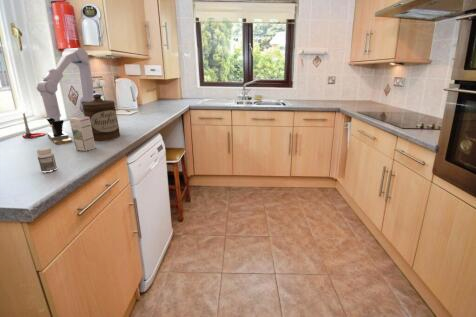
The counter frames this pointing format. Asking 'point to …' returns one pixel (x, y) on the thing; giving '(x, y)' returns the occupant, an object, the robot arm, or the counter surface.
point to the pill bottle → (46, 159)
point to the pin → (54, 131)
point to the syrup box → (82, 133)
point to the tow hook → (28, 134)
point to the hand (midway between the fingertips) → (58, 133)
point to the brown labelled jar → (102, 118)
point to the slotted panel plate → (59, 138)
